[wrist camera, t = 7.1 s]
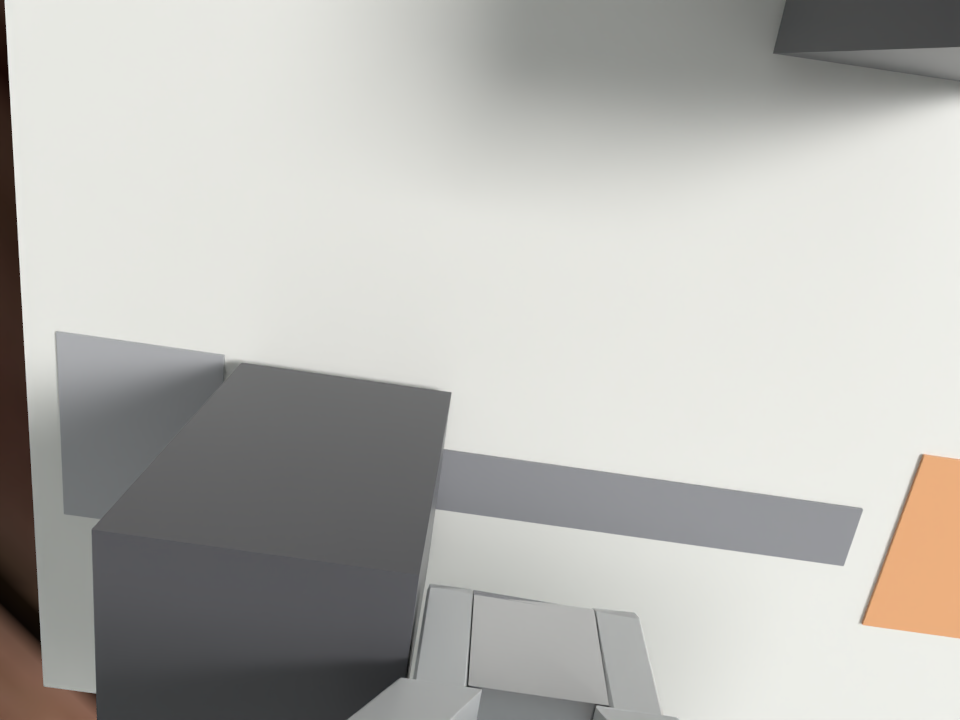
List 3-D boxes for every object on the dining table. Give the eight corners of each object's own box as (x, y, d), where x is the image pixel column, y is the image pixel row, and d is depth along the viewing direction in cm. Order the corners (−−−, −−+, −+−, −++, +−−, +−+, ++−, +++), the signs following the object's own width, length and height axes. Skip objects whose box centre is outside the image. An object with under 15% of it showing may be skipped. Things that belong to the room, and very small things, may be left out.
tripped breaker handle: (233, 543, 13) (98, 779, 8) (241, 362, 12) (91, 529, 7) (426, 570, 13) (386, 817, 8) (451, 392, 12) (419, 575, 7)
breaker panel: (122, 581, 17) (41, 688, 14) (105, -585, 11) (-45, -825, 8) (890, 687, 17) (967, 813, 14) (1312, -392, 11) (1601, -556, 8)
